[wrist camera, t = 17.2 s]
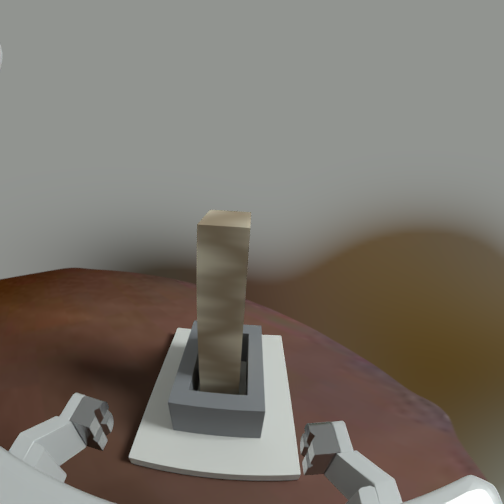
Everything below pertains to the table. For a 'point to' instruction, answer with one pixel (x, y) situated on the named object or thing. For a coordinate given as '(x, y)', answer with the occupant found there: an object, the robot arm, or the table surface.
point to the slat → (221, 298)
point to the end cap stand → (221, 416)
